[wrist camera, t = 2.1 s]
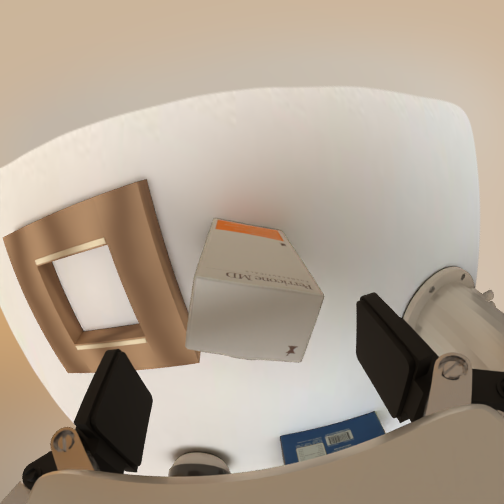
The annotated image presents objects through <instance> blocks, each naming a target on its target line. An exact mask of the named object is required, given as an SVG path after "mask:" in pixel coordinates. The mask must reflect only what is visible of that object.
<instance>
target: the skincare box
mask: <svg viewBox="0 0 504 504" xmlns="http://www.w3.org/2000/svg"><path fill="white" fill-rule="evenodd" d="M323 299H324V294H323V293H322V291H321V290H320V288H319V286H318V285H317V283H316V282H315V280H314V279H313V277H312V276H311V274H310V272H309V271H308V269H307V268H306V266H305V265H304V263H303V262H302V260H301V259H300V257H299V256H298V254H297V252H296V251H295V250H294V248H293V247H292V245H291V244H290V242H289V240H288V239H287V238H286V236H285V235H284V233H283V232H282V231H281V230H275V229H269V228H264V227H258V226H252V225H247V224H242V223H237V222H232V221H227V220H222V219H217V218H214V219H213V222H212V225H211V228H210V231H209V233H208V237H207V239H206V242H205V245H204V248H203V251H202V254H201V257H200V260H199V263H198V266H197V269H196V272H195V276H194V281H193V287H192V294H191V301H190V308H189V315H188V323H187V331H186V342H185V347H186V348H187V349H190V350H195V351H201V352H207V353H214V354H221V355H226V356H230V357H234V358H239V359H247V360H271V361H284V362H301V361H302V359H303V356H304V353H305V351H306V348H307V345H308V342H309V340H310V337H311V334H312V331H313V328H314V325H315V323H316V320H317V317H318V315H319V312H320V308H321V305H322V302H323Z"/></svg>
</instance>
